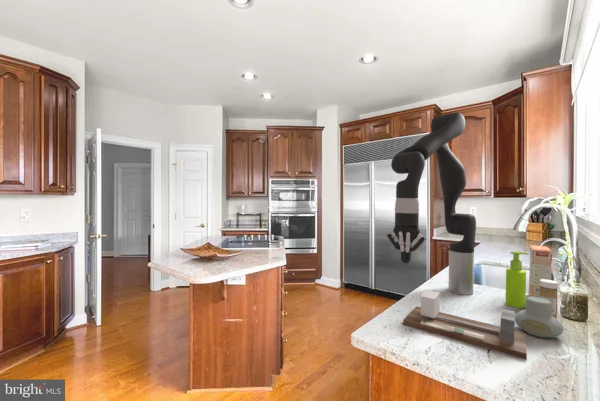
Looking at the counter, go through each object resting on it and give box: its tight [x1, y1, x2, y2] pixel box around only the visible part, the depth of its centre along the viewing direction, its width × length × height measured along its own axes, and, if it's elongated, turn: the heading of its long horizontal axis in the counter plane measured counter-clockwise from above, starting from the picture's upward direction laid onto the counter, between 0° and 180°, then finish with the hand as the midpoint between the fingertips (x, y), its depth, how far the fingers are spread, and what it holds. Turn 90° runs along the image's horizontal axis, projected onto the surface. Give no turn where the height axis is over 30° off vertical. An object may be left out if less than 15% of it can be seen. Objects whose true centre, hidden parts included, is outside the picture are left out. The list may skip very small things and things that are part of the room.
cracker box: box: [528, 244, 553, 298], centre depth 110 cm, size 14×6×21 cm, turn 143°
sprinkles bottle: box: [539, 279, 559, 320], centre depth 91 cm, size 5×5×14 cm
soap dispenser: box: [505, 251, 529, 309], centre depth 105 cm, size 6×7×20 cm
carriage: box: [420, 290, 441, 322], centre depth 88 cm, size 11×4×6 cm, turn 142°
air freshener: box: [515, 296, 564, 339], centre depth 83 cm, size 11×8×10 cm
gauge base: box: [402, 306, 528, 360], centre depth 84 cm, size 14×30×8 cm, turn 52°
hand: (405, 262), depth 95 cm, fingers closed
